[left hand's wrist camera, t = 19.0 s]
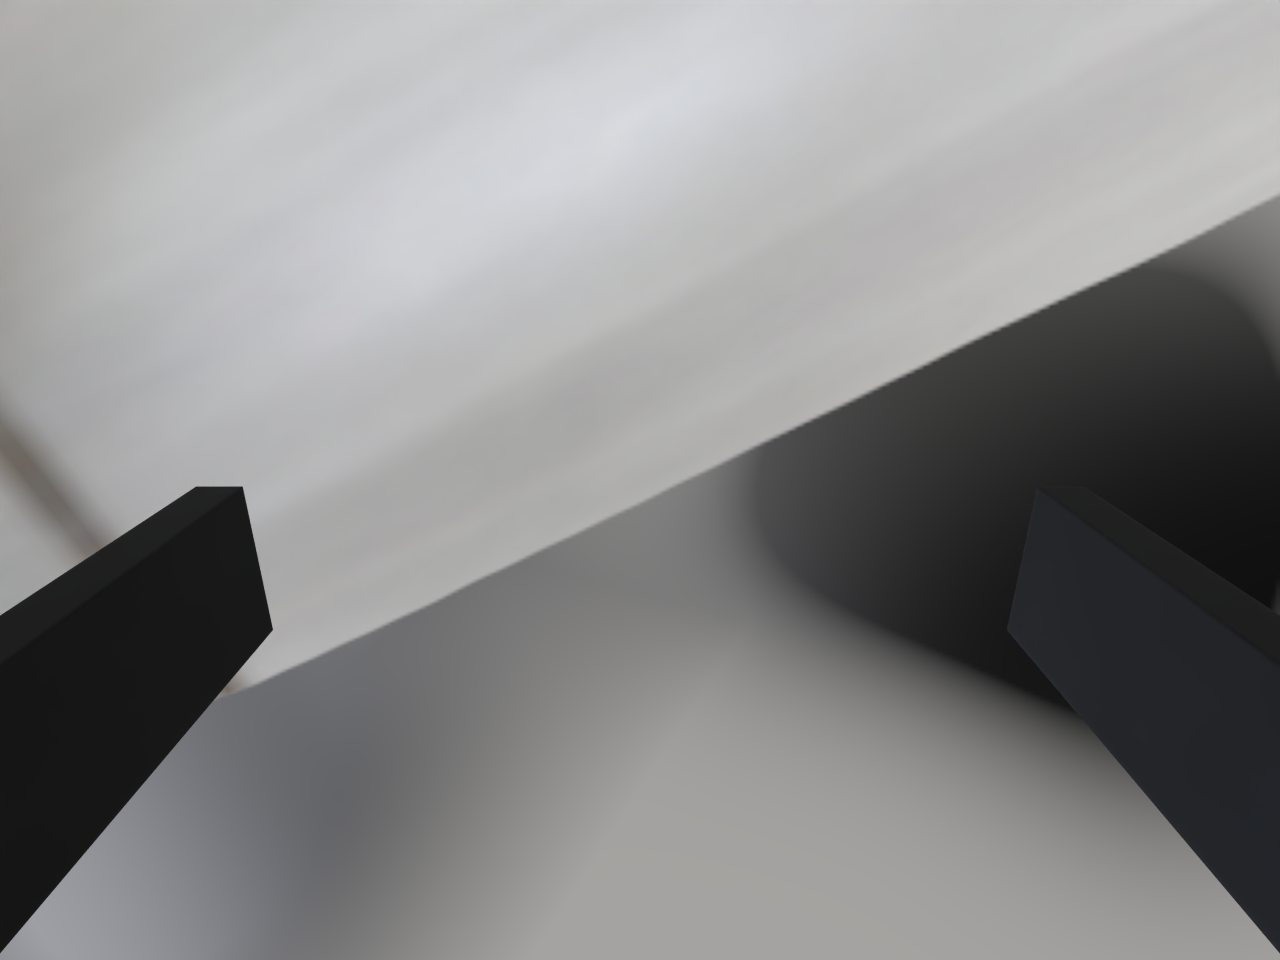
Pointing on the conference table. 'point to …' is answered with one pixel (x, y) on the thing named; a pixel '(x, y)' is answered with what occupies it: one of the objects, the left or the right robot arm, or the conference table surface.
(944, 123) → the conference table surface
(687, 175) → the conference table surface
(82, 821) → the left robot arm
